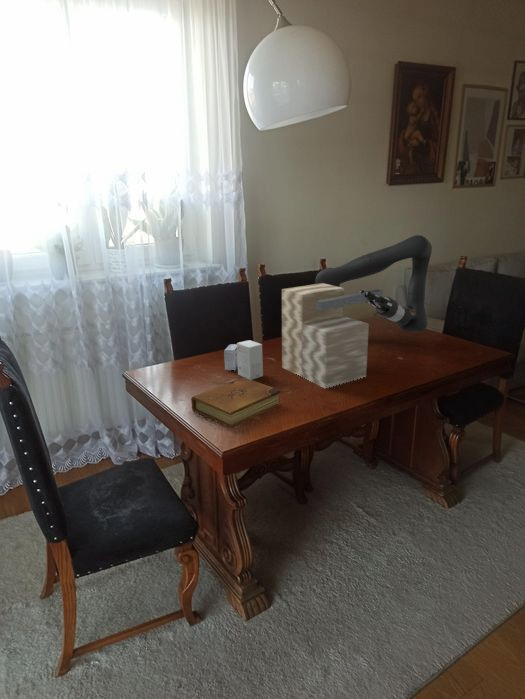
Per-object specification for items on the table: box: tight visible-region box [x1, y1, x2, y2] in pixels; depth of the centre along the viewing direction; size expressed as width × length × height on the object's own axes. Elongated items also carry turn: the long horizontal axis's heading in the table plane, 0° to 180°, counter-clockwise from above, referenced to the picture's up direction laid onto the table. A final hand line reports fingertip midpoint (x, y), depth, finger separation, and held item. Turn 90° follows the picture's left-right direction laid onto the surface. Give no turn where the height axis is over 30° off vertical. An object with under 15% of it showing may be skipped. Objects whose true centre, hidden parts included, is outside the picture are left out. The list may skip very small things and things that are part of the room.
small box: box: [236, 339, 264, 380], centre depth 193 cm, size 8×6×13 cm
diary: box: [190, 376, 282, 428], centre depth 167 cm, size 23×19×6 cm
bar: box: [316, 288, 384, 311], centre depth 185 cm, size 3×30×3 cm, turn 123°
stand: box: [281, 283, 370, 389], centre depth 192 cm, size 27×20×32 cm
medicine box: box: [223, 343, 238, 372], centre depth 203 cm, size 8×4×9 cm, turn 168°
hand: (363, 293), depth 188 cm, fingers closed on bar, 3 cm apart
